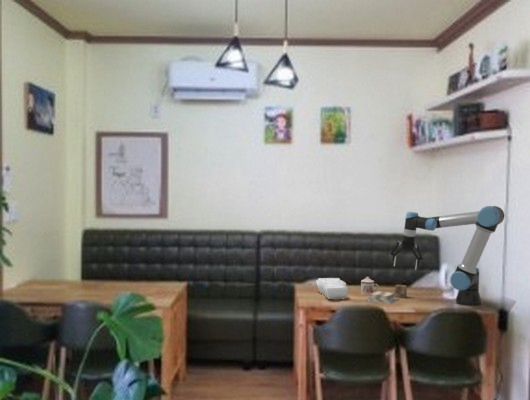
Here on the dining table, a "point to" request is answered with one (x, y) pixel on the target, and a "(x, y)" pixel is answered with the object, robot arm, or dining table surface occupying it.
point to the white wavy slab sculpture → (332, 288)
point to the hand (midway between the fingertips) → (404, 267)
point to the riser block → (382, 296)
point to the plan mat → (384, 302)
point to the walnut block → (400, 291)
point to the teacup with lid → (368, 286)
